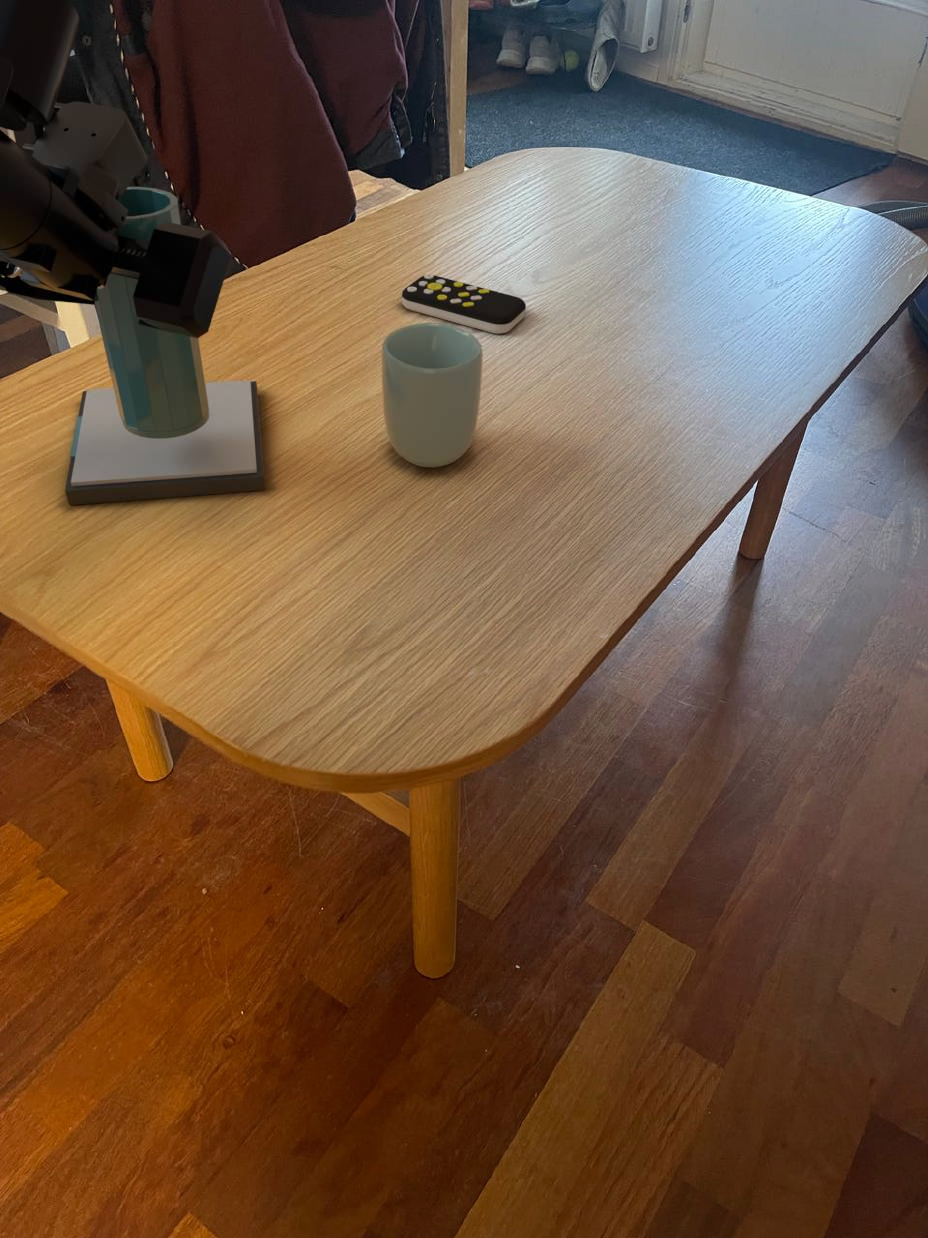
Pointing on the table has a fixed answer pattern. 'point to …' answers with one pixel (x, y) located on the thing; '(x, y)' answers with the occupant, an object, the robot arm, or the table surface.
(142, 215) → the tumbler
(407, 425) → the cup
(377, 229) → the table surface
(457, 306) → the remote control
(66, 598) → the table surface
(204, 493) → the scale
